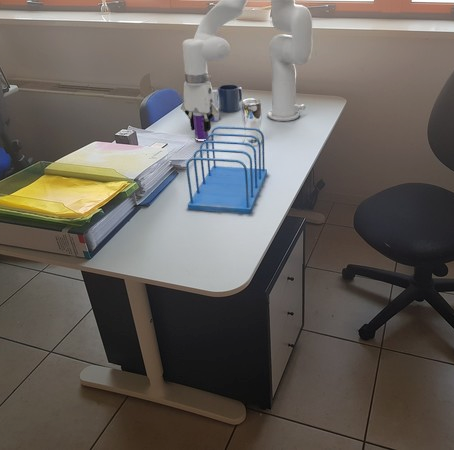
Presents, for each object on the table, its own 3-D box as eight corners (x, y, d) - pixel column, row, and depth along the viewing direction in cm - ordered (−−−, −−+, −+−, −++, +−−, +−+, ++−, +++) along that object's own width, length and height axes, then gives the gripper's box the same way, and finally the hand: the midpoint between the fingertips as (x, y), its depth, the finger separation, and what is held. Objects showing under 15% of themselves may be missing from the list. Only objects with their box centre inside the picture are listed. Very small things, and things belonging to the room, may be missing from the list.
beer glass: (265, 140, 169) (264, 99, 161) (258, 147, 163) (257, 105, 155) (247, 138, 171) (245, 97, 163) (240, 144, 165) (238, 103, 157)
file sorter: (213, 171, 146) (209, 124, 138) (267, 175, 144) (267, 127, 136) (187, 210, 125) (182, 157, 117) (250, 215, 123) (249, 161, 115)
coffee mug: (229, 113, 195) (228, 91, 190) (215, 109, 200) (213, 87, 195) (249, 107, 203) (248, 85, 198) (234, 103, 208) (233, 81, 203)
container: (206, 143, 166) (202, 102, 159) (193, 142, 167) (189, 101, 159) (210, 139, 170) (207, 98, 162) (197, 138, 171) (194, 97, 163)
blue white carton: (199, 121, 187) (197, 91, 181) (199, 119, 189) (197, 89, 183) (219, 120, 188) (217, 90, 182) (219, 118, 190) (217, 88, 184)
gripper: (224, 77, 157) (226, 129, 167) (180, 73, 163) (185, 123, 172) (213, 83, 151) (217, 136, 161) (169, 78, 157) (175, 130, 166)
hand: (200, 129), depth 166 cm, fingers closed on container, 4 cm apart
